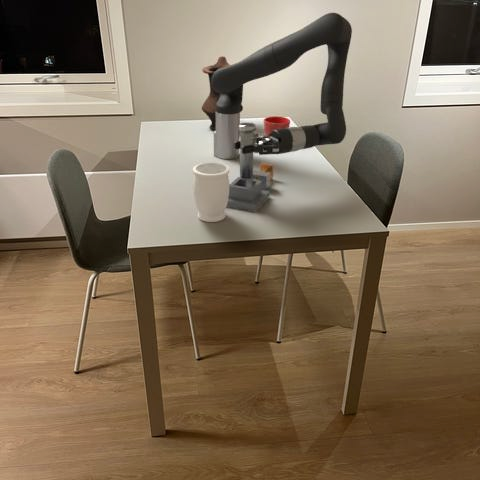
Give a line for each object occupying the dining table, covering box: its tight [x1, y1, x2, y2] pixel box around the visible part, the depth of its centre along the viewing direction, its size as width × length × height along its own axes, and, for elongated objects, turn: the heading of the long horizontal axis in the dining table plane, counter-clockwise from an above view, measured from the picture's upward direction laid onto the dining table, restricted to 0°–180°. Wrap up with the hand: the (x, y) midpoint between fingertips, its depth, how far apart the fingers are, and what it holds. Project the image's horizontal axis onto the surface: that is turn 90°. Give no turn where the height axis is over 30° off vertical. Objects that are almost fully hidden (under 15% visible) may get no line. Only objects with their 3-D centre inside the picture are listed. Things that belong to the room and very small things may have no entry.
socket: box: [226, 176, 270, 213], centre depth 150 cm, size 12×12×6 cm
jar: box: [192, 161, 230, 223], centre depth 138 cm, size 11×10×15 cm
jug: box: [201, 56, 244, 132], centre depth 214 cm, size 21×18×30 cm
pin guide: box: [246, 169, 271, 191], centre depth 160 cm, size 7×4×5 cm, turn 68°
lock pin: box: [253, 162, 275, 181], centre depth 162 cm, size 12×4×5 cm, turn 158°
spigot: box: [239, 122, 257, 179], centre depth 144 cm, size 5×5×16 cm
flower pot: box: [263, 115, 291, 136], centre depth 202 cm, size 11×11×10 cm
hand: (238, 148), depth 142 cm, fingers closed on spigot, 4 cm apart
